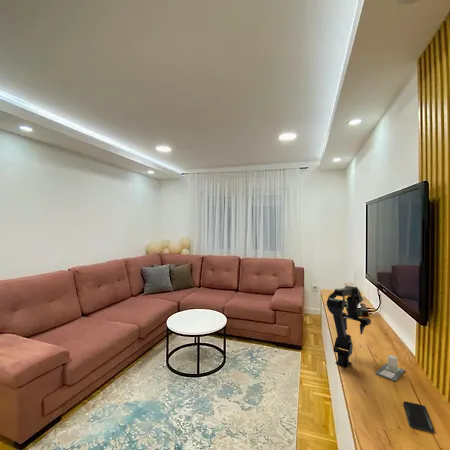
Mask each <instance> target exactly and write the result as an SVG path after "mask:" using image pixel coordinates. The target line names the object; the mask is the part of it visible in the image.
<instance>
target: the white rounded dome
mask: <svg viewBox="0 0 450 450" xmlns="http://www.w3.org/2000/svg"><path fill="white" fill-rule="evenodd" d="M398 360H399V359H398V357H397V356H396V355H392V354H390V355H387V364H388V368H389V369H390V370H392V371H397V370H398V368H399V366H398V364H399V362H398Z"/></svg>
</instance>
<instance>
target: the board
mask: <svg viewBox="0 0 450 450" xmlns="http://www.w3.org/2000/svg"><path fill="white" fill-rule="evenodd" d="M405 370H406V369H403V368H401V367H398V370H397V371H392V370H390V369H389V368H388V362H387V363H386V362H385V363H384V364H383V365H382V366H381V367H380V368H379V369H378V370H377V371H376V372H375V375H377V376H379V377H382V378H385V379H387V380H389V381H392V382H393V383H396V381H398V380H399V378H400V377H401V376H402V375H403V374H404V373H405V372H406V371H405Z"/></svg>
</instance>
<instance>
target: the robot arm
mask: <svg viewBox="0 0 450 450" xmlns="http://www.w3.org/2000/svg"><path fill="white" fill-rule="evenodd" d="M360 291H361V290H360V289H359V288H358V286H351V285H346V286H344V288H334V291H333V292H332V293H331V294H330V295H328V298H327V300H326V307H327V309H328V312H329V313H330V314H332V317H333V321H334V325H335V331H336V335H337V337H336V338H335V341H334V346H333V353H337V361H335V364H336V365H338V366H341V367H342V368H348V367H350V366H351V365H352V362H351V361H350V357H351V355H352V354H353V349H354V348H353V347H354V346H353V345H354V344H353V341H352V336H351V335H350V334H349V333H348V334H347V331H348V321H347V320H348V319H349V320H352V321H357V322H359V333H360V335H361V336H362V335H363V333H364V330H365V327H366V326H368V325H370V324H372V320H371V318H369V317H365V316H364V317H363V311H362V310H360V309H359V307H358V305H359V304H361V303H362V302H363V297H362V295H361V292H360ZM347 296H348V297H347ZM337 297H342V299H338V298H337ZM345 297H346V299H345ZM346 303H347V304H346ZM345 306H346V307H347V308H346V311H347V312H343V311H344V309H345ZM360 317H362V318H360Z"/></svg>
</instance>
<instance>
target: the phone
mask: <svg viewBox="0 0 450 450" xmlns="http://www.w3.org/2000/svg"><path fill="white" fill-rule="evenodd" d="M402 403H403V408H404V411H405V412H404V413H405V415H406V419H407V422H408V426H409V427H410V428H411V429H416V430H419V431H422V432H423V431H424V432H428V433H431V434H433V433H435V429H434V426H433V423H432V421H431V418H430V415H429V413H428V410H427V407H426V406H425V405H423V404H419V403H414V402H412V401H411V402H410V401H406V400H404V401H403V402H402Z"/></svg>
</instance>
